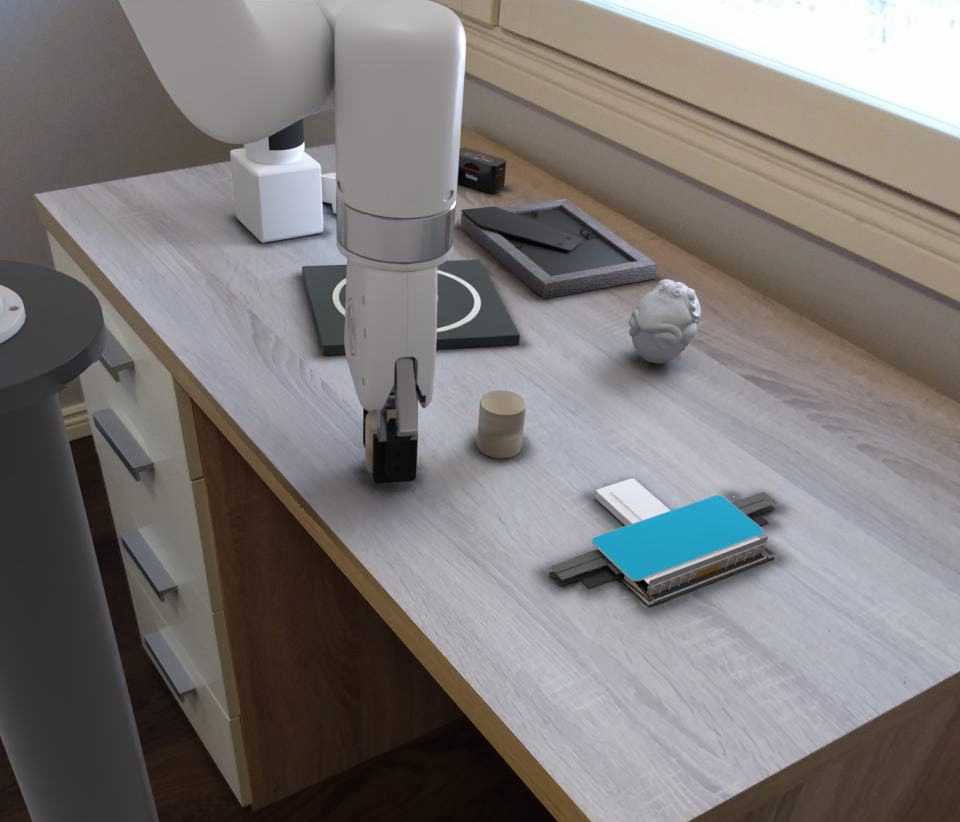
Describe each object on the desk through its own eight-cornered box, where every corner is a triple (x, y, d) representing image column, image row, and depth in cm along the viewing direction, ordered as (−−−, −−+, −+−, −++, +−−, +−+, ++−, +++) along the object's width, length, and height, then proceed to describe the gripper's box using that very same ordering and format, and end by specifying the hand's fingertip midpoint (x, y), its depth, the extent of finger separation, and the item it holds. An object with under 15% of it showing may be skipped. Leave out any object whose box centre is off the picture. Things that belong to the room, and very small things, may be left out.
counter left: (369, 480, 78) (369, 434, 76) (361, 452, 81) (362, 407, 78) (416, 476, 79) (419, 431, 76) (407, 449, 82) (409, 404, 79)
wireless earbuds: (456, 173, 127) (457, 145, 124) (506, 189, 124) (508, 160, 122) (433, 184, 124) (434, 155, 121) (484, 200, 121) (486, 171, 119)
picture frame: (460, 227, 115) (543, 298, 104) (461, 209, 114) (545, 279, 102) (564, 212, 120) (654, 278, 109) (566, 194, 119) (657, 259, 108)
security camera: (296, 208, 116) (290, 90, 108) (324, 233, 112) (320, 112, 103) (235, 218, 113) (223, 97, 105) (261, 244, 109) (251, 120, 100)
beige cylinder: (482, 460, 83) (486, 416, 80) (472, 435, 85) (475, 391, 83) (526, 456, 84) (531, 413, 81) (514, 432, 86) (519, 388, 83)
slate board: (323, 355, 93) (322, 344, 92) (302, 275, 104) (301, 264, 103) (519, 344, 97) (520, 333, 96) (478, 268, 108) (479, 257, 107)
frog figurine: (705, 358, 97) (722, 286, 92) (661, 384, 93) (677, 310, 89) (651, 334, 100) (665, 263, 95) (607, 358, 96) (619, 285, 91)
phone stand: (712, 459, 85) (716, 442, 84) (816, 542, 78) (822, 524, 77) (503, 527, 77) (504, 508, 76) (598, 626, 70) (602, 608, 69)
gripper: (319, 174, 72) (325, 407, 85) (356, 285, 61) (356, 535, 73) (427, 173, 74) (416, 402, 86) (483, 281, 62) (461, 527, 75)
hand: (389, 461), depth 80 cm, fingers closed on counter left, 3 cm apart
